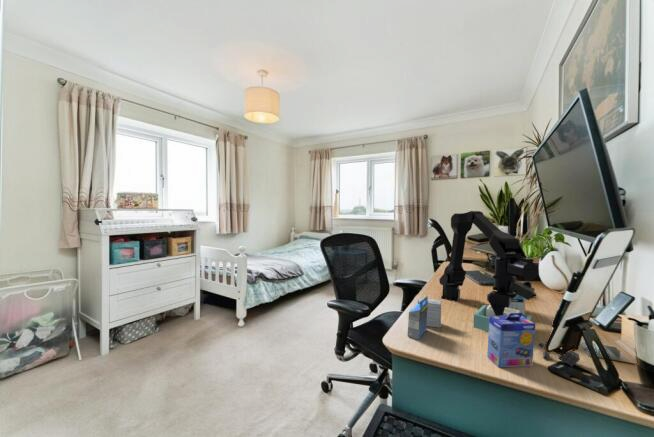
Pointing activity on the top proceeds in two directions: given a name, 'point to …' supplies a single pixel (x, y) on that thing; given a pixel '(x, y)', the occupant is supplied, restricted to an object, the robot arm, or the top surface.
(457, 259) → the robot arm
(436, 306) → the medicine box
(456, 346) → the top surface
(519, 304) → the light bulb box
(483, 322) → the box
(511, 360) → the ink cartridge box
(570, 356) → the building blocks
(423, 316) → the label tape box
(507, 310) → the small crate
